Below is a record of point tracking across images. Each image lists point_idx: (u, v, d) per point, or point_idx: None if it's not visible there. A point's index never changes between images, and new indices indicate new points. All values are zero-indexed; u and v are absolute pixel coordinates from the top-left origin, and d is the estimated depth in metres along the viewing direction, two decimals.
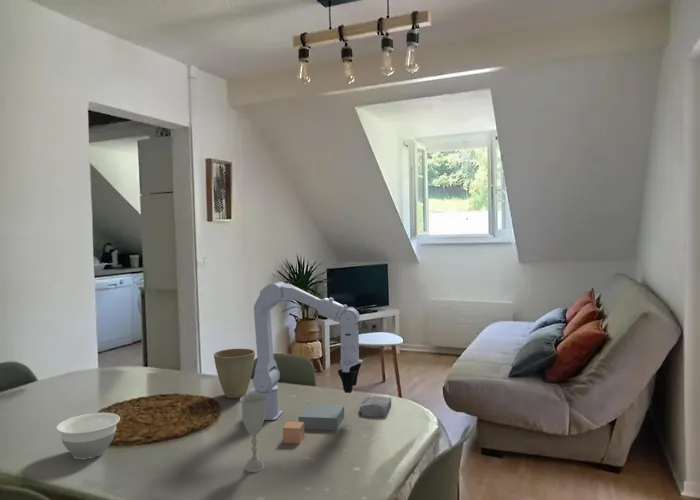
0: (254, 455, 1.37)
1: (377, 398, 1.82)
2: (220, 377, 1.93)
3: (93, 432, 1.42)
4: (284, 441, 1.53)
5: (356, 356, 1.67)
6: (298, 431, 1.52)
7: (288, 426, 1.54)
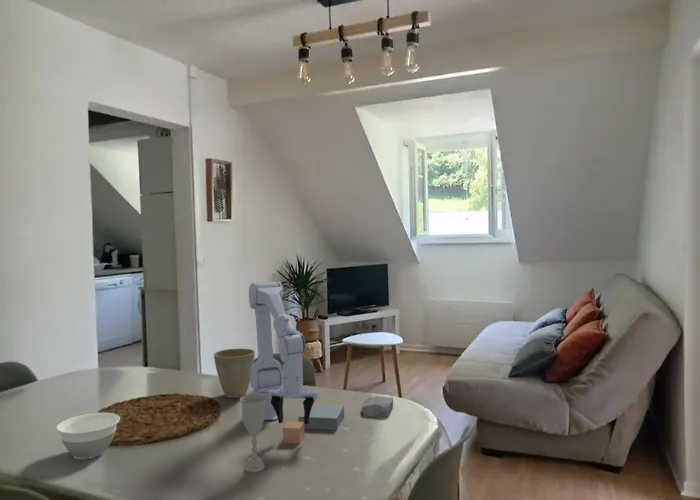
0: (254, 455, 1.37)
1: (379, 398, 1.81)
2: (220, 377, 1.93)
3: (93, 432, 1.42)
4: (284, 441, 1.53)
5: (285, 388, 1.52)
6: (298, 431, 1.52)
7: (288, 426, 1.54)
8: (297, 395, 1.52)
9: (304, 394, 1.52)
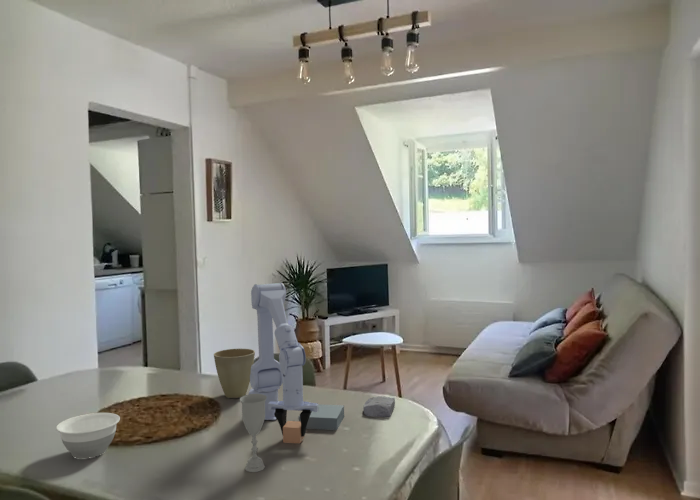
0: (254, 455, 1.37)
1: (381, 398, 1.81)
2: (220, 377, 1.93)
3: (93, 432, 1.42)
4: (284, 441, 1.53)
5: (285, 400, 1.52)
6: (298, 430, 1.52)
7: (288, 426, 1.54)
8: (297, 408, 1.52)
9: (304, 406, 1.52)
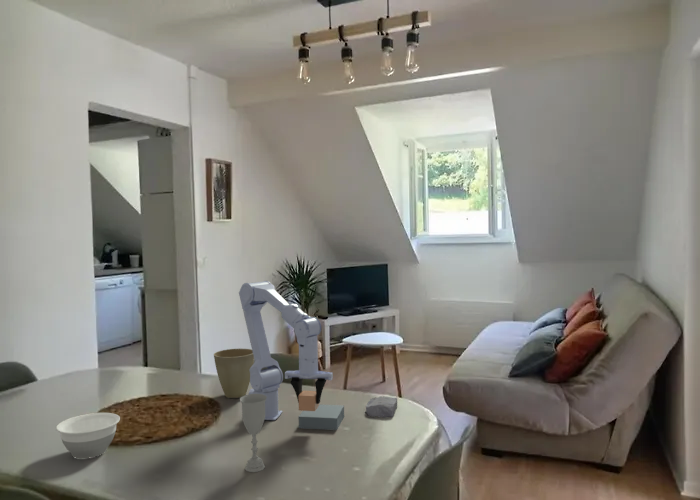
0: (254, 455, 1.37)
1: (383, 398, 1.81)
2: (220, 377, 1.93)
3: (93, 432, 1.42)
4: (300, 408, 1.60)
5: (301, 369, 1.60)
6: (313, 399, 1.59)
7: (303, 394, 1.61)
8: (313, 376, 1.59)
9: (319, 375, 1.59)
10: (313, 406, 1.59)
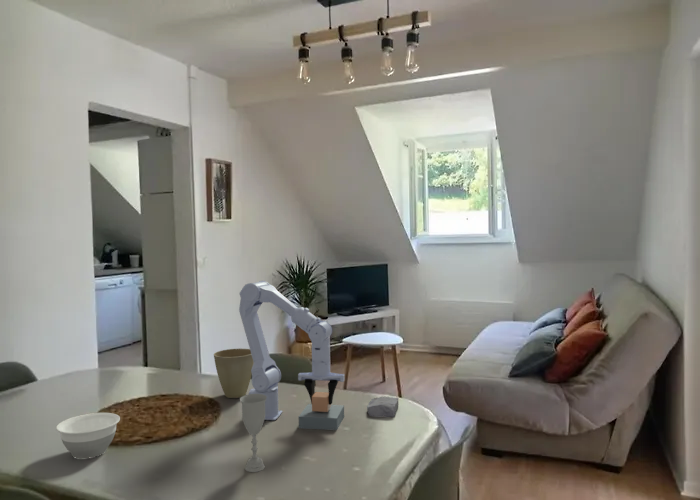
0: (254, 455, 1.37)
1: (384, 398, 1.81)
2: (220, 377, 1.93)
3: (93, 432, 1.42)
4: (313, 409, 1.66)
5: (314, 371, 1.66)
6: (326, 400, 1.65)
7: (316, 395, 1.67)
8: (325, 377, 1.66)
9: (332, 377, 1.66)
10: (326, 407, 1.66)
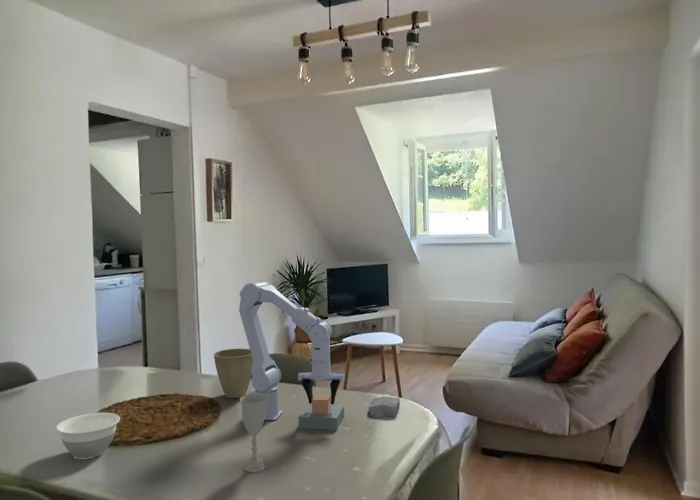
0: (254, 455, 1.37)
1: (386, 398, 1.81)
2: (220, 377, 1.93)
3: (93, 432, 1.42)
4: (313, 412, 1.66)
5: (314, 371, 1.66)
6: (326, 402, 1.65)
7: (317, 398, 1.67)
8: (325, 377, 1.66)
9: (332, 377, 1.66)
10: (326, 409, 1.66)
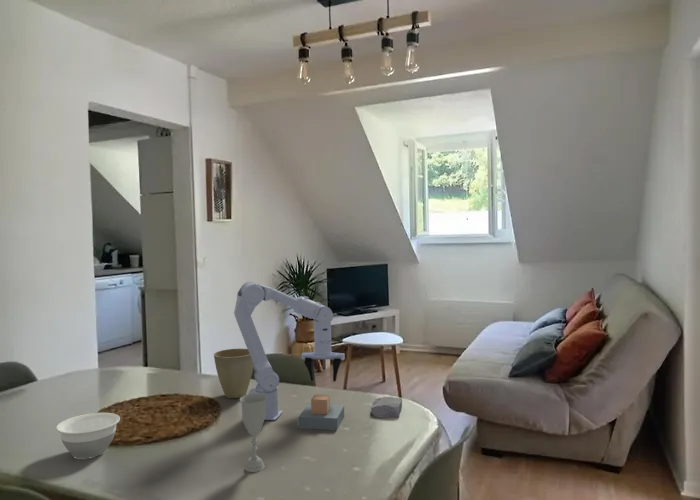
0: (254, 455, 1.37)
1: (388, 399, 1.81)
2: (220, 377, 1.93)
3: (93, 432, 1.42)
4: (312, 412, 1.66)
5: (317, 350, 1.79)
6: (325, 402, 1.66)
7: (316, 398, 1.67)
8: (327, 356, 1.79)
9: (333, 355, 1.79)
10: (325, 409, 1.66)
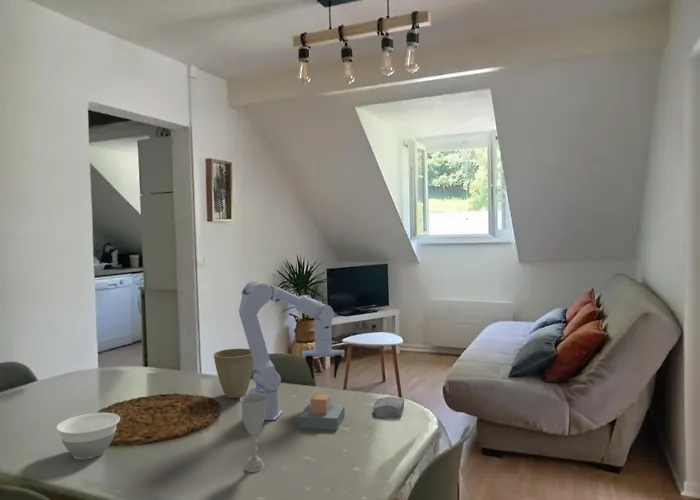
0: (254, 455, 1.37)
1: (390, 399, 1.81)
2: (220, 377, 1.93)
3: (93, 432, 1.42)
4: (312, 411, 1.67)
5: (318, 348, 1.83)
6: (325, 402, 1.66)
7: (315, 398, 1.67)
8: (329, 353, 1.83)
9: (334, 352, 1.84)
10: (325, 409, 1.66)
